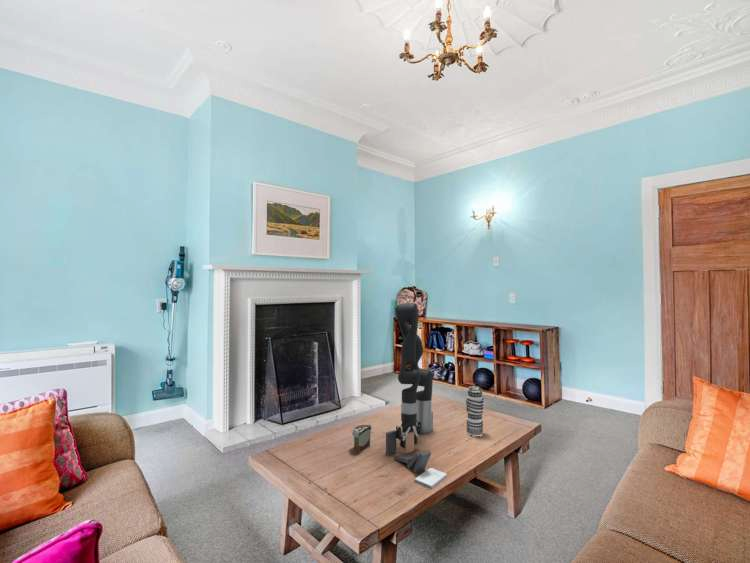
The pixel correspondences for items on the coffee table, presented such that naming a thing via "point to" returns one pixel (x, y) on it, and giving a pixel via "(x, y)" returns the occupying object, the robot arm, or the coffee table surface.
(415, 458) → the domino
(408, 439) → the domino
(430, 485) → the external hard drive
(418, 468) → the domino
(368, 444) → the food container
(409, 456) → the domino
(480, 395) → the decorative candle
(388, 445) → the domino
